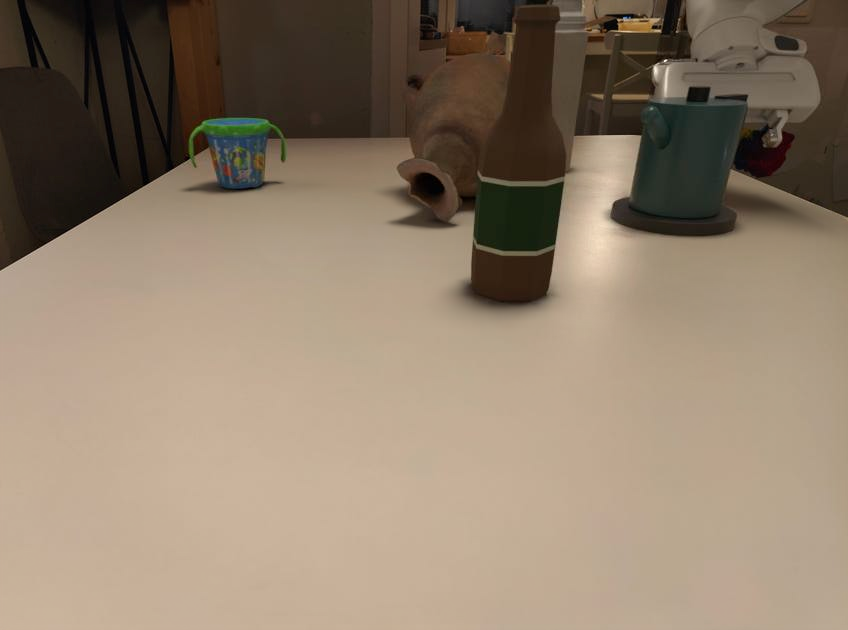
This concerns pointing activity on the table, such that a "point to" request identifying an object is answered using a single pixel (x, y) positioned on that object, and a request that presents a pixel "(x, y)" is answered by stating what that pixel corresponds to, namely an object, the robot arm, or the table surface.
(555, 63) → the thermos bottle
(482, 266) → the beer bottle
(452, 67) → the jug
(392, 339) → the table surface
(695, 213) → the kettle
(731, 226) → the kettle base
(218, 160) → the snack cup
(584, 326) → the table surface
